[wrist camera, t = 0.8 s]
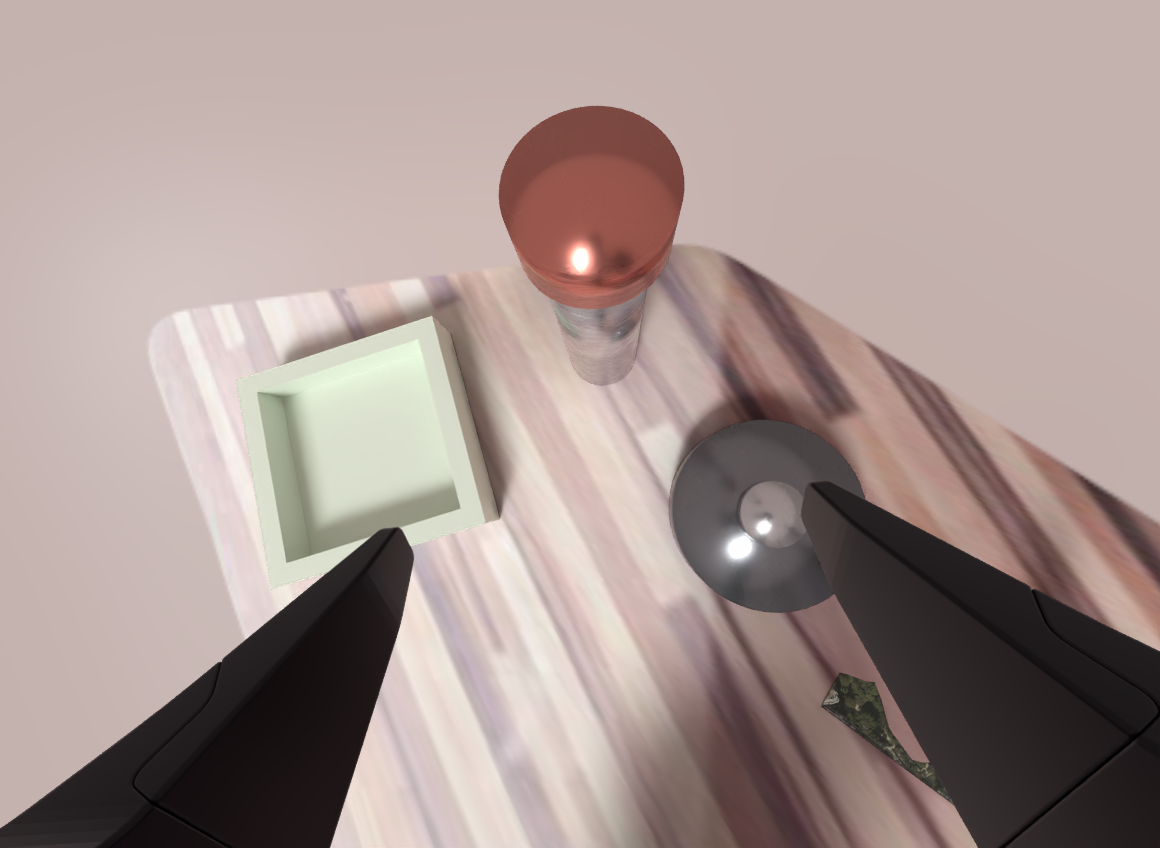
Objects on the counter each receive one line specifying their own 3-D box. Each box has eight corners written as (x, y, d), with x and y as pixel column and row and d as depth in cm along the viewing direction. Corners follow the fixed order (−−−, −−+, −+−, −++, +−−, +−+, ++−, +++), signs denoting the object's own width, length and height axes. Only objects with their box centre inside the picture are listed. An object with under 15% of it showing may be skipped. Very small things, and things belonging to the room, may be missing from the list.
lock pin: (655, 379, 23) (711, 238, 10) (575, 404, 23) (527, 298, 10) (629, 304, 23) (649, 82, 11) (552, 329, 23) (478, 140, 11)
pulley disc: (879, 573, 20) (913, 584, 18) (703, 626, 20) (714, 643, 18) (809, 402, 22) (831, 392, 19) (645, 453, 22) (649, 449, 20)
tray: (499, 518, 22) (485, 522, 20) (308, 578, 22) (270, 589, 20) (450, 333, 24) (431, 315, 21) (274, 390, 24) (236, 380, 22)
